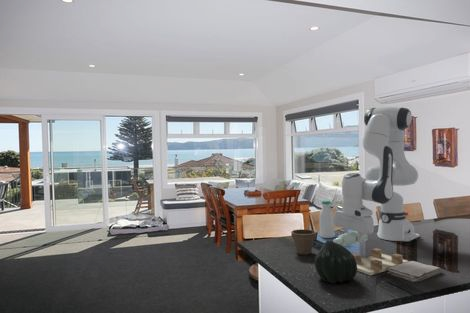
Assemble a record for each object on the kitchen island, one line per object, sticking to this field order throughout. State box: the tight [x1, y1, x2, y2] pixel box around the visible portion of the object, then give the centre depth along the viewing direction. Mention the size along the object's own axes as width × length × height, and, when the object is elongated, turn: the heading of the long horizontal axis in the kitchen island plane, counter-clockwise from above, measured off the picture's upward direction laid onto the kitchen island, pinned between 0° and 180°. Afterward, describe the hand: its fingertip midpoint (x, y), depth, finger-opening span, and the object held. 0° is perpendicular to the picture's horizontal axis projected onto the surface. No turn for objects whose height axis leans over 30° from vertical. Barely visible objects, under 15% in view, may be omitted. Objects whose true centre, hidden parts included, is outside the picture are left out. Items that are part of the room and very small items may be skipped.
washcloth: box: [387, 260, 442, 283], centre depth 133 cm, size 12×18×3 cm, turn 122°
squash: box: [314, 240, 358, 284], centre depth 129 cm, size 14×15×15 cm
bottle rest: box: [352, 247, 410, 276], centre depth 143 cm, size 24×13×4 cm, turn 120°
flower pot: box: [290, 228, 317, 256], centre depth 163 cm, size 12×11×10 cm
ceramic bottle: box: [332, 231, 369, 247], centre depth 156 cm, size 18×5×5 cm, turn 119°
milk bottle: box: [319, 199, 335, 239], centre depth 191 cm, size 8×8×20 cm
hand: (353, 239), depth 157 cm, fingers closed on ceramic bottle, 5 cm apart
